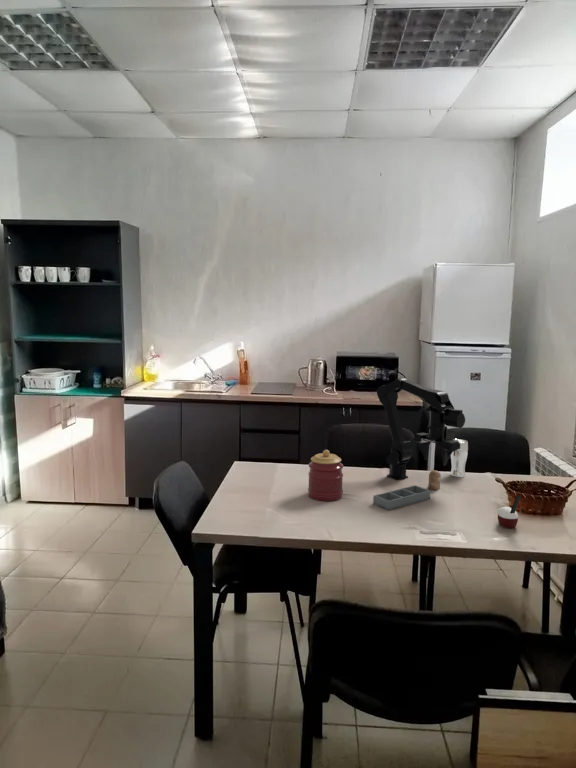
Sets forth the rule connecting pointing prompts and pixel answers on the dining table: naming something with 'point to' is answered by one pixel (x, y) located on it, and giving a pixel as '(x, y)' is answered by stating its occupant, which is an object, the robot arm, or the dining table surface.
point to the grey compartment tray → (401, 497)
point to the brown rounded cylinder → (434, 480)
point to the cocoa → (509, 514)
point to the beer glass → (459, 459)
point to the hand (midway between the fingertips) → (435, 462)
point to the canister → (325, 477)
